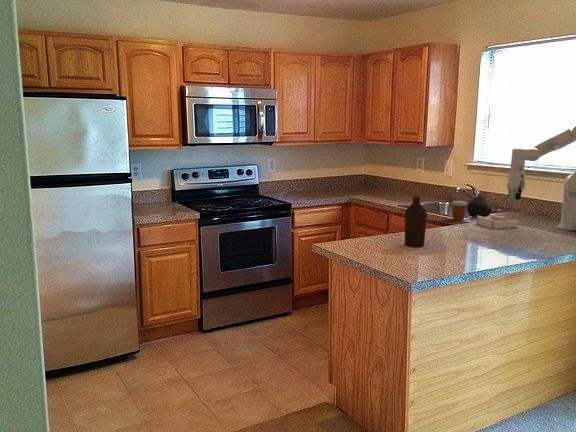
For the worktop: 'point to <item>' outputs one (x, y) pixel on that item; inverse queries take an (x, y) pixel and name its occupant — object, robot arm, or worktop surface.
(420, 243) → the olive oil
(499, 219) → the pusher plate
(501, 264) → the worktop surface
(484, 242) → the worktop surface
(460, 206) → the disposable coffee cup
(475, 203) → the squash
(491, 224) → the white open tray
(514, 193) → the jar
